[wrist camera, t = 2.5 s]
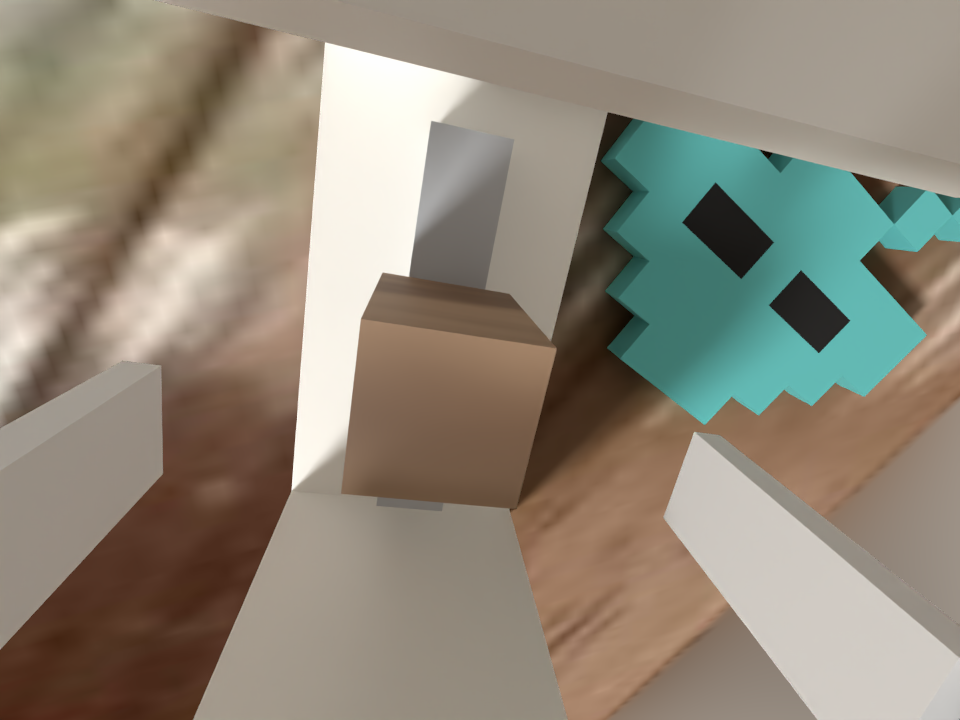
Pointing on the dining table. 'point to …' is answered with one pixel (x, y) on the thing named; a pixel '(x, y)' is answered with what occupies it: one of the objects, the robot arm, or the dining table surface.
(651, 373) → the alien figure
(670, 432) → the dining table surface
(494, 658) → the box
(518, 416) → the walnut block
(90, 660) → the dining table surface
